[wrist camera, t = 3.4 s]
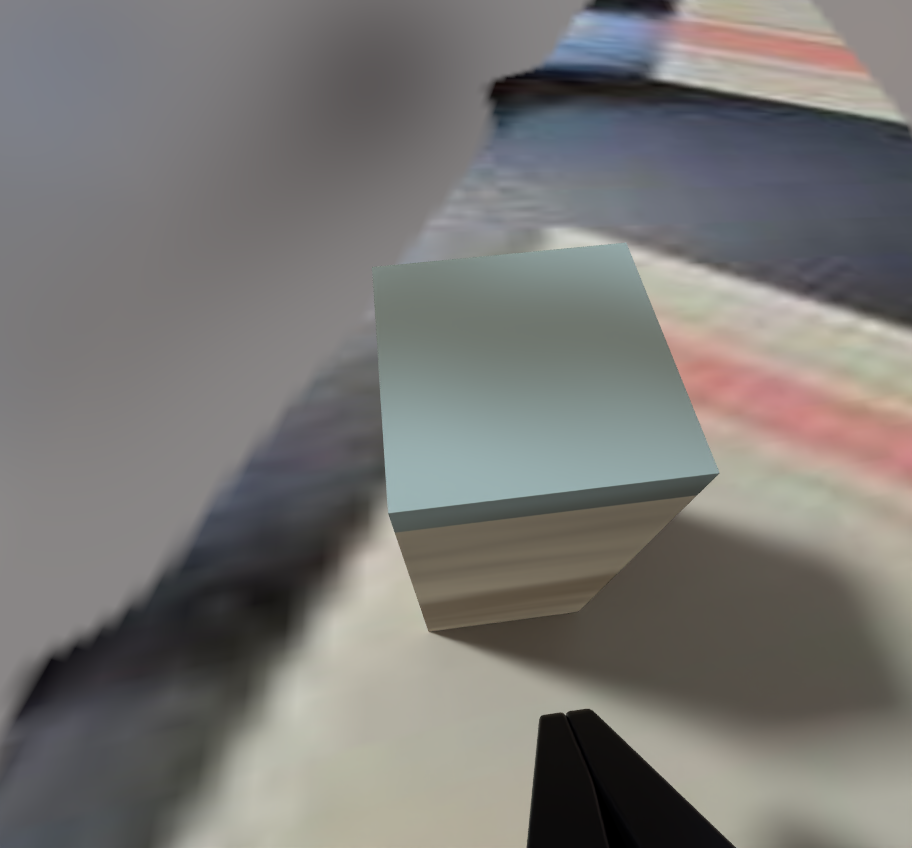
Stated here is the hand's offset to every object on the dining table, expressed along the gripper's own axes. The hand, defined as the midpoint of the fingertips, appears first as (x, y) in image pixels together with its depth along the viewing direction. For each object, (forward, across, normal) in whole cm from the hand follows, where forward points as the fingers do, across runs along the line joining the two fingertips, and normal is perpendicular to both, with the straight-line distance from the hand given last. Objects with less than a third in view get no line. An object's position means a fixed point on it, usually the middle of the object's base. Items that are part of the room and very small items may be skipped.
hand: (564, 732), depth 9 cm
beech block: (+8, 0, +1) cm, 8 cm away
